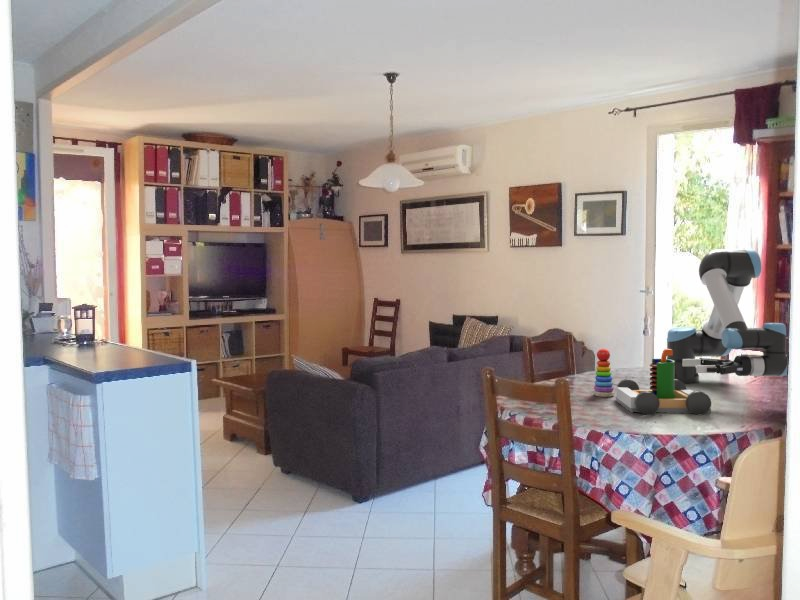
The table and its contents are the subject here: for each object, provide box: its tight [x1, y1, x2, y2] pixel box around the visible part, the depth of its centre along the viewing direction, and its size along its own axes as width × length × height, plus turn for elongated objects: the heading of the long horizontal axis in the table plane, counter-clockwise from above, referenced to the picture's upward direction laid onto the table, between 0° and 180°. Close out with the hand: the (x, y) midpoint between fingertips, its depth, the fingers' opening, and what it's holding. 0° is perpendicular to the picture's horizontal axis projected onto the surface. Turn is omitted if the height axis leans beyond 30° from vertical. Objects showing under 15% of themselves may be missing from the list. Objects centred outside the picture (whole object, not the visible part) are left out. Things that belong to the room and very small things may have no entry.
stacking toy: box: [593, 348, 615, 398], centre depth 284 cm, size 8×8×19 cm
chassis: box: [615, 378, 712, 415], centre depth 264 cm, size 25×28×8 cm
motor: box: [649, 348, 675, 399], centre depth 264 cm, size 10×9×20 cm
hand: (689, 365), depth 263 cm, fingers open, 13 cm apart
